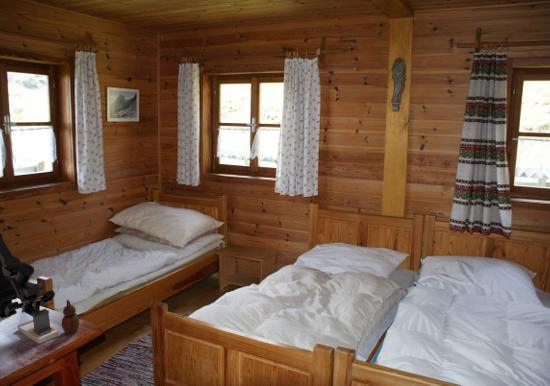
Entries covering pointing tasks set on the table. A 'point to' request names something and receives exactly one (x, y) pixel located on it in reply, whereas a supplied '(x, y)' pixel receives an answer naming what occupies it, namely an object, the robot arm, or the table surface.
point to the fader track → (28, 331)
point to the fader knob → (41, 322)
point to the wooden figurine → (70, 319)
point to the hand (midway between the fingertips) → (39, 319)
